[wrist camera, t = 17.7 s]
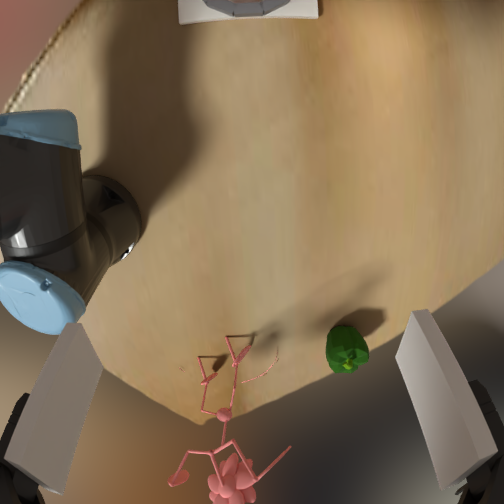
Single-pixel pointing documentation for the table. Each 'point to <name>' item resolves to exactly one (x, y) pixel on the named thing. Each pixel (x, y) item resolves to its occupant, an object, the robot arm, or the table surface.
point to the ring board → (244, 10)
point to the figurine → (230, 472)
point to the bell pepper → (346, 349)
